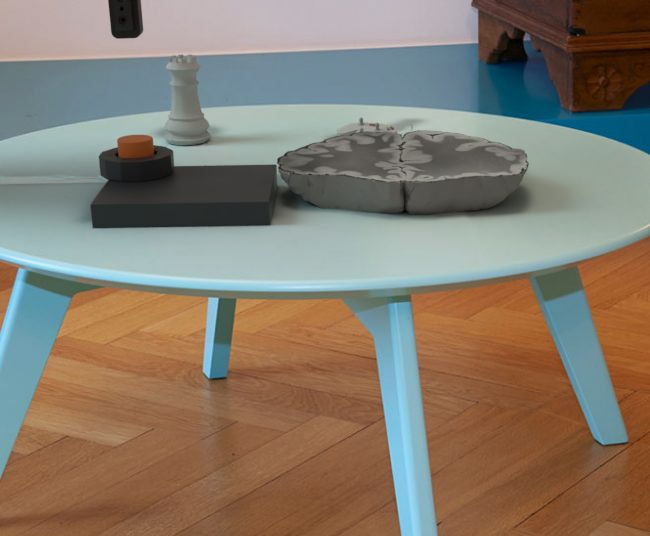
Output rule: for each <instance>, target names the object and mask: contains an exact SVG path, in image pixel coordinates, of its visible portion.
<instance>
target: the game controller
mask: <svg viewBox="0 0 650 536" xmlns="http://www.w3.org/2000/svg"><path fill="white" fill-rule="evenodd" d="M358 121H359V122H351V123H348V124H345V125H344V126H342V127H340V128H338V129H337V130H336V132H335V133H336V136H341V135H350V134H353V133H358V132H366V131H368V132H394V133H398V132H401V131H402V130H403V129H404V127H405V126H406V125H407V123H405V124H403V125H402V127H401V128H400V129H399V130H398V128H397V127H396V126H394V125H390V124H385V123H379V122H365V121H364V118H363V117H360V118H359V119H358ZM410 126H411V128H410V130H413V124H411V123H410Z"/></svg>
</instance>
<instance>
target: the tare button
mask: <svg viewBox="0 0 650 536" xmlns="http://www.w3.org/2000/svg"><path fill="white" fill-rule="evenodd" d="M116 144H117V147H118V156H119V157H120V158H143V157H150V156H153V155H154V146H153V145H154V138H153V136H151V135H149V134H128V135H124V136H120V137H118V138H117V139H116Z"/></svg>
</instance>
